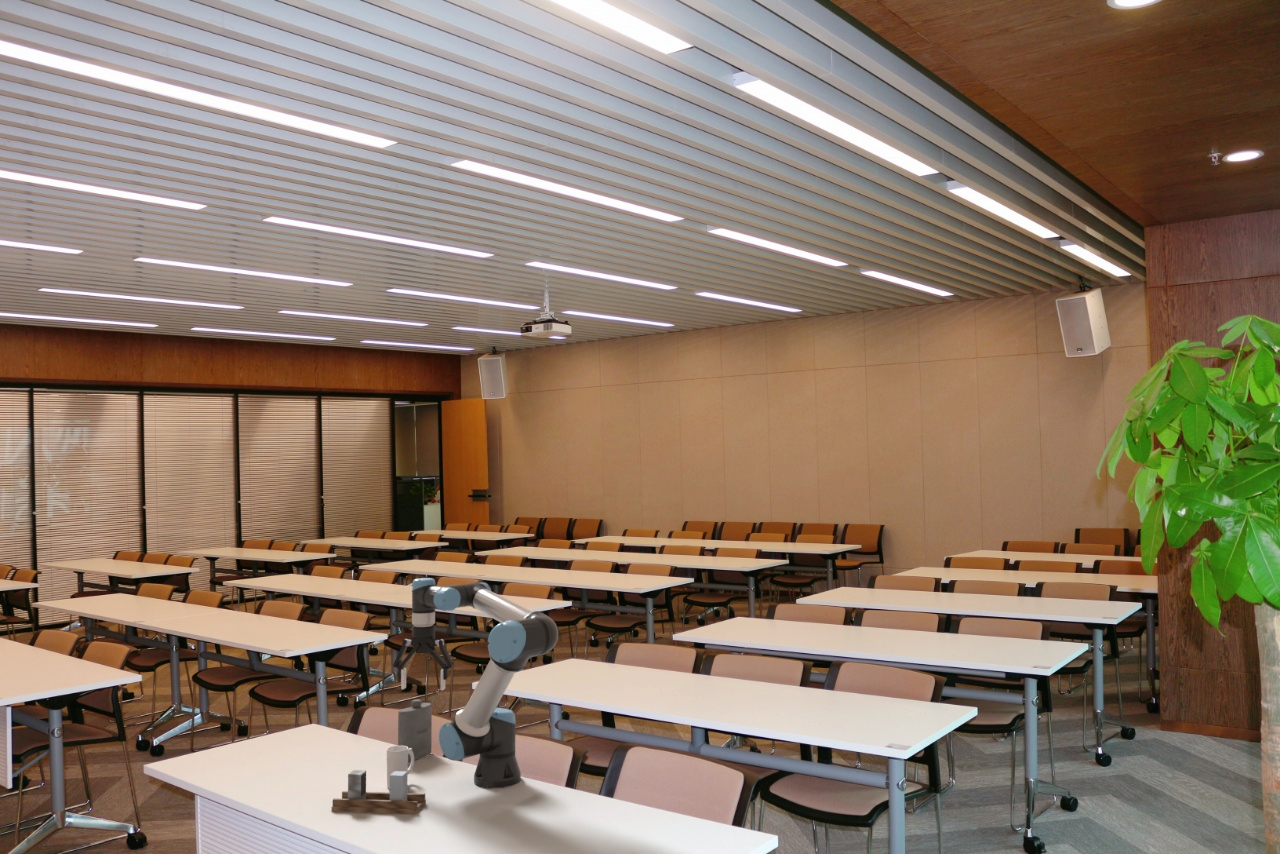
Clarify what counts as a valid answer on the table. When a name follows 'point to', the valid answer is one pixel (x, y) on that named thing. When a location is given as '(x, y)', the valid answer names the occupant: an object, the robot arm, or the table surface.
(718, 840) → the table surface
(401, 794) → the block
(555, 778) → the table surface
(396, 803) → the rail
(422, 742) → the flask
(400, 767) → the mug
